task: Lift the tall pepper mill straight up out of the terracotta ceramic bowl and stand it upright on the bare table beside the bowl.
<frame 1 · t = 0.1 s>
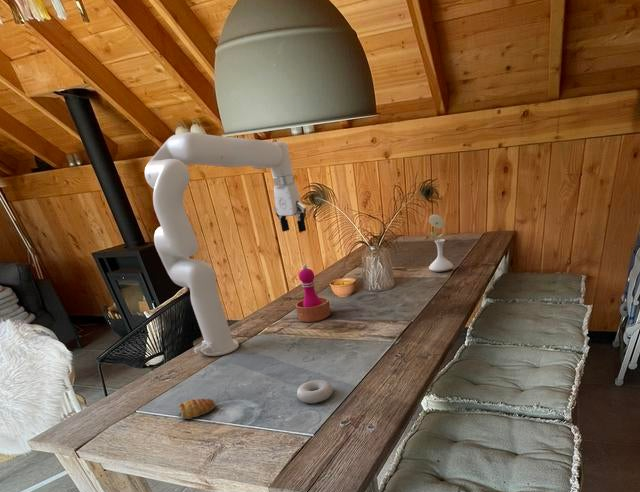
hand: (294, 231, 179), 31 cm above the table, tool pointing down, fingers open, 9 cm apart
donut: (316, 397, 130), on the table
pepper mill: (314, 316, 188), resting on bowl
pastry: (196, 413, 130), on the table
bowl: (314, 316, 188), on the table
flower in vase: (440, 270, 225), on the table
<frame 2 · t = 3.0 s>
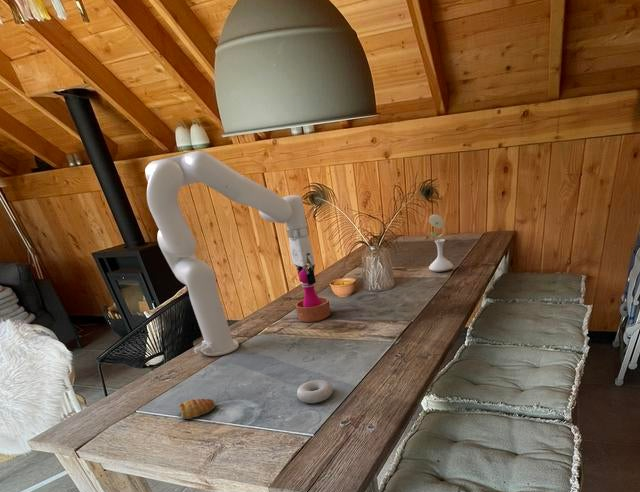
hand: (307, 281, 180), 14 cm above the table, tool pointing down, fingers closed on pepper mill, 6 cm apart
pepper mill: (314, 316, 188), resting on bowl, touching gripper
everything else where it was.
when the fingers open (14 cm above the table, at t = 10.8 s): pepper mill stays where it is, on the table.
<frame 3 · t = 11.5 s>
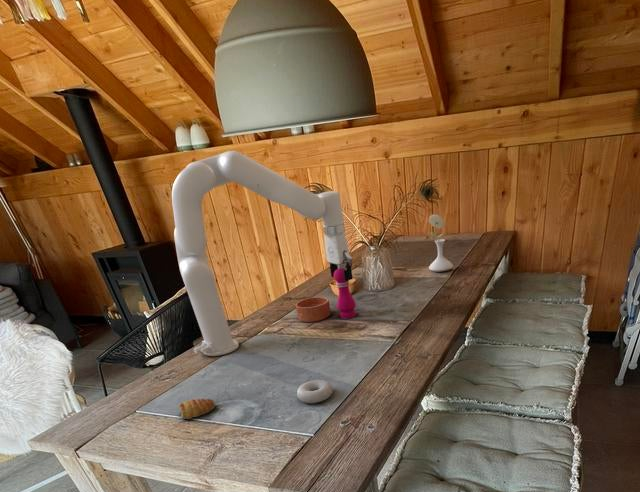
hand: (341, 278, 176), 15 cm above the table, tool pointing down, fingers open, 9 cm apart
pepper mill: (348, 316, 184), on the table
everything else where it was.
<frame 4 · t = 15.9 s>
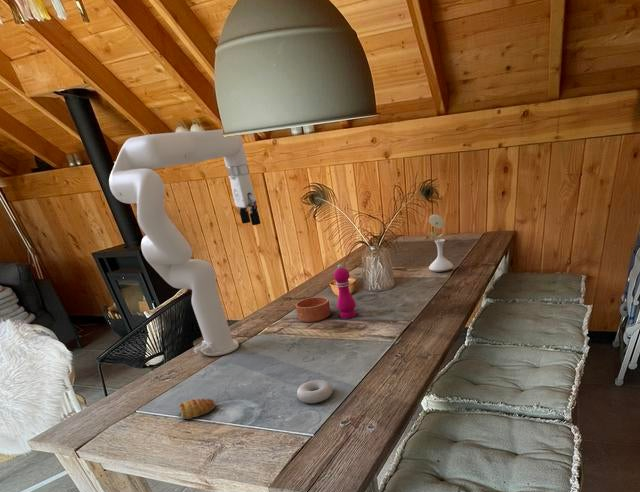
hand: (251, 223, 173), 36 cm above the table, tool pointing down, fingers open, 9 cm apart
nothing on the table moved.
at the end: pepper mill inside the target area (0.0 cm from its centre), on the table; pepper mill tilted 0°; pepper mill touching table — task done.
